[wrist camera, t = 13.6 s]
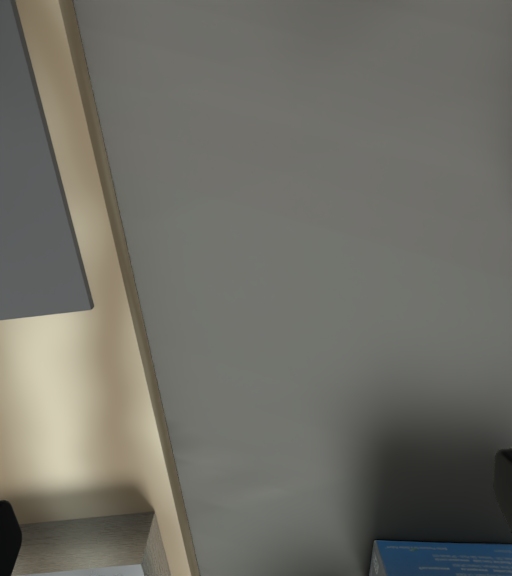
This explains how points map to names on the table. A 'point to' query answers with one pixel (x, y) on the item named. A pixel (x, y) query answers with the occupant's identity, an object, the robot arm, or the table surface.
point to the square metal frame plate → (93, 547)
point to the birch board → (85, 339)
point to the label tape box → (440, 559)
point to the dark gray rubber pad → (32, 195)
